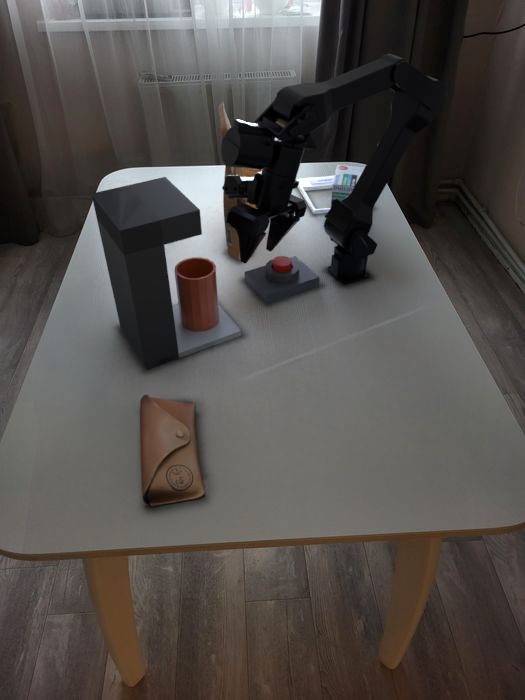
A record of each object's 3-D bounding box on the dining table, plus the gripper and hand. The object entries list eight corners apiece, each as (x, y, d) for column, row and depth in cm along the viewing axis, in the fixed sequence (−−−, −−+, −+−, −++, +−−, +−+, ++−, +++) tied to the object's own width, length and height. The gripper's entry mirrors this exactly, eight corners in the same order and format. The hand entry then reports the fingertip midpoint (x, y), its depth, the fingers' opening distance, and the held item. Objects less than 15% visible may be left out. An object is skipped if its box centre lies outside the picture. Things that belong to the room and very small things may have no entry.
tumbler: (219, 307, 103) (216, 256, 96) (218, 331, 98) (214, 279, 91) (182, 308, 103) (176, 257, 96) (179, 331, 98) (172, 279, 91)
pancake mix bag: (218, 264, 117) (209, 129, 98) (226, 220, 131) (219, 95, 113) (250, 265, 117) (247, 129, 98) (254, 221, 131) (252, 96, 113)
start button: (285, 261, 111) (285, 254, 110) (294, 270, 109) (295, 262, 107) (269, 266, 110) (269, 258, 108) (279, 275, 107) (279, 267, 106)
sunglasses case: (209, 495, 73) (179, 472, 69) (166, 518, 75) (134, 497, 71) (195, 398, 87) (169, 375, 82) (159, 419, 88) (131, 397, 84)
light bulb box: (357, 231, 127) (363, 187, 120) (327, 228, 128) (331, 184, 121) (360, 208, 135) (366, 166, 128) (332, 206, 136) (336, 163, 129)
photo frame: (348, 173, 148) (372, 203, 135) (347, 177, 149) (371, 208, 136) (295, 178, 146) (314, 209, 133) (294, 182, 147) (313, 214, 133)
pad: (295, 264, 117) (295, 248, 114) (319, 286, 111) (320, 269, 108) (244, 281, 112) (244, 264, 110) (267, 304, 106) (267, 286, 104)
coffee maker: (209, 298, 108) (199, 168, 91) (241, 335, 99) (236, 200, 82) (120, 327, 101) (91, 193, 84) (146, 370, 92) (119, 230, 75)
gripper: (266, 149, 102) (246, 228, 110) (208, 159, 87) (190, 249, 95) (319, 171, 98) (294, 251, 106) (268, 185, 83) (243, 277, 92)
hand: (256, 256), depth 100 cm, fingers open, 9 cm apart
